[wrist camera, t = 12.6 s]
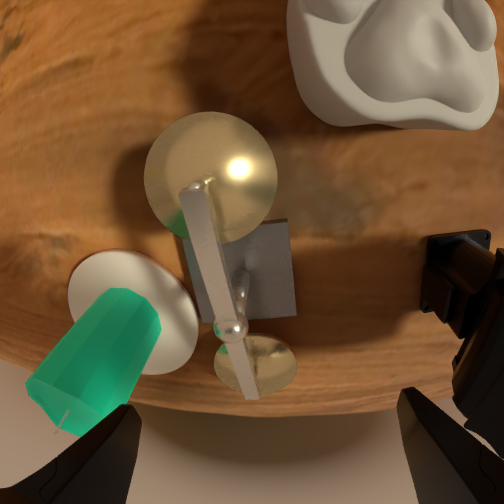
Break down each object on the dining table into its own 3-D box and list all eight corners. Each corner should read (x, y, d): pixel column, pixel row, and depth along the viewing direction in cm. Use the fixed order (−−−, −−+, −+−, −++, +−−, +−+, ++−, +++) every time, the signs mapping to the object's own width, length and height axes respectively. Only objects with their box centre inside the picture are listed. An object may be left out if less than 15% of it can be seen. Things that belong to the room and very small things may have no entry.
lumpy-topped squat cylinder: (296, 127, 17) (318, 118, 9) (275, -38, 12) (275, -114, 4) (440, 132, 16) (525, 141, 8) (413, -23, 11) (466, -71, 3)
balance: (272, 110, 17) (274, 89, 9) (300, 374, 24) (306, 453, 17) (164, 130, 17) (96, 131, 10) (222, 379, 25) (207, 455, 17)
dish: (178, 239, 20) (174, 244, 19) (213, 368, 25) (211, 375, 24) (56, 256, 22) (50, 261, 21) (102, 364, 26) (99, 370, 25)
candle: (94, 278, 21) (-1, 378, 10) (164, 298, 21) (90, 428, 10) (99, 336, 23) (32, 436, 12) (160, 355, 23) (110, 474, 12)
